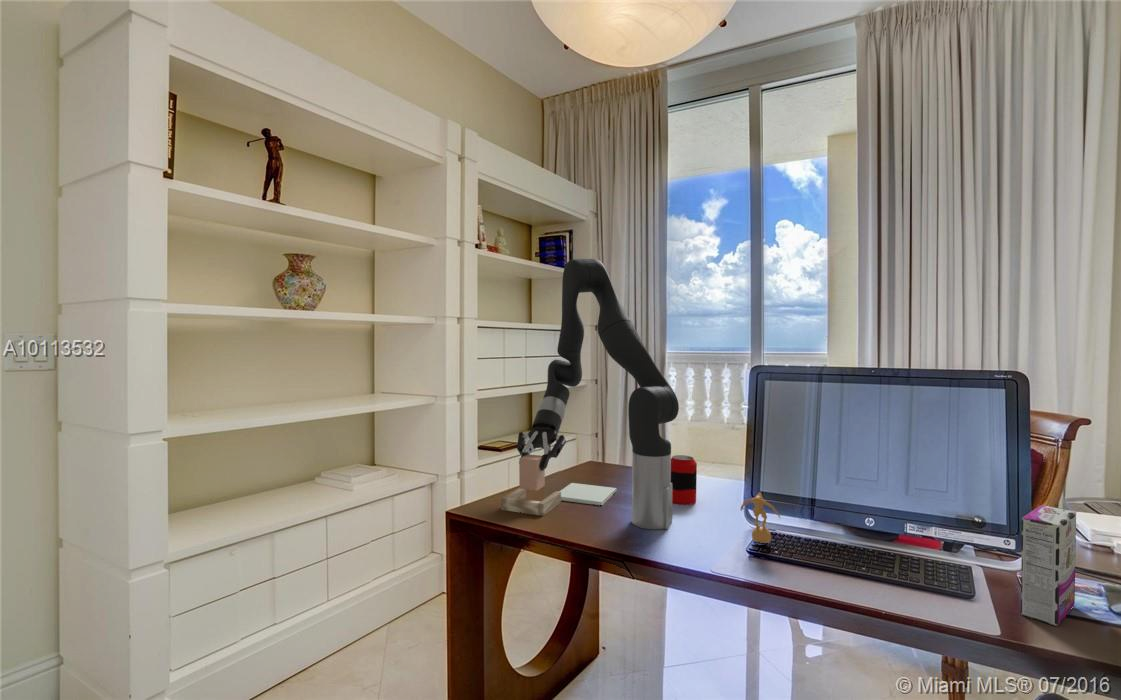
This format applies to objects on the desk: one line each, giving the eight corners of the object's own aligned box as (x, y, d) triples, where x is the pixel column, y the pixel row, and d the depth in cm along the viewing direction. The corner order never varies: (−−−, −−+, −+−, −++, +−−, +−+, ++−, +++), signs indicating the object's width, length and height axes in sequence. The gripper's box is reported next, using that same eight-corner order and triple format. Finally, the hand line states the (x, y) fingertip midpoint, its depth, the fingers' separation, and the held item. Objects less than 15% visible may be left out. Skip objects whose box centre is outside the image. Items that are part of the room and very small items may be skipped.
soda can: (695, 506, 143) (696, 461, 143) (667, 503, 145) (667, 459, 145) (696, 497, 151) (696, 455, 150) (668, 495, 153) (669, 453, 152)
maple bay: (560, 502, 146) (560, 491, 145) (543, 515, 135) (543, 504, 135) (521, 497, 150) (521, 486, 150) (501, 509, 139) (501, 498, 139)
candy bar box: (1036, 595, 95) (1039, 503, 95) (1075, 607, 91) (1078, 511, 90) (1017, 614, 88) (1020, 516, 88) (1057, 628, 84) (1061, 525, 84)
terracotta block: (544, 485, 143) (544, 455, 143) (536, 490, 139) (536, 459, 139) (527, 483, 145) (527, 454, 145) (519, 488, 141) (519, 458, 140)
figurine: (783, 546, 116) (784, 492, 116) (776, 556, 111) (777, 498, 111) (745, 538, 121) (745, 485, 121) (736, 546, 116) (737, 491, 116)
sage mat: (616, 491, 156) (616, 488, 156) (601, 505, 143) (601, 502, 143) (571, 486, 161) (571, 482, 161) (553, 499, 148) (553, 495, 148)
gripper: (522, 407, 153) (502, 458, 142) (569, 409, 147) (552, 462, 136) (530, 423, 158) (512, 473, 147) (576, 425, 152) (560, 478, 141)
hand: (531, 467), depth 142 cm, fingers closed on terracotta block, 5 cm apart
